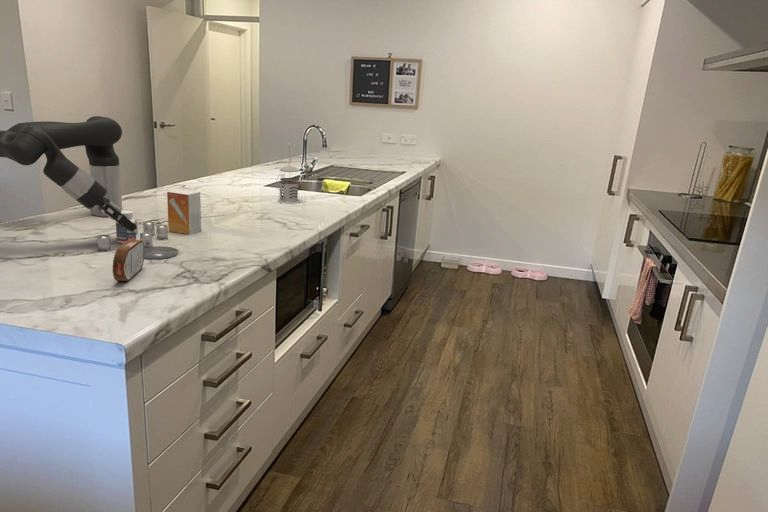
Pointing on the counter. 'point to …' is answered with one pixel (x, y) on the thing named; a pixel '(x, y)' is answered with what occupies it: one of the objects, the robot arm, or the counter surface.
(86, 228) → the counter surface
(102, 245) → the spacer near
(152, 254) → the coaster
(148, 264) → the counter surface
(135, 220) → the cylinder
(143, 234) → the cylinder
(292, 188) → the french press
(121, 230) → the pill bottle
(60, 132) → the robot arm
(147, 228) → the cylinder
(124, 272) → the tin
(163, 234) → the cylinder
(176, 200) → the small box
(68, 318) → the counter surface
